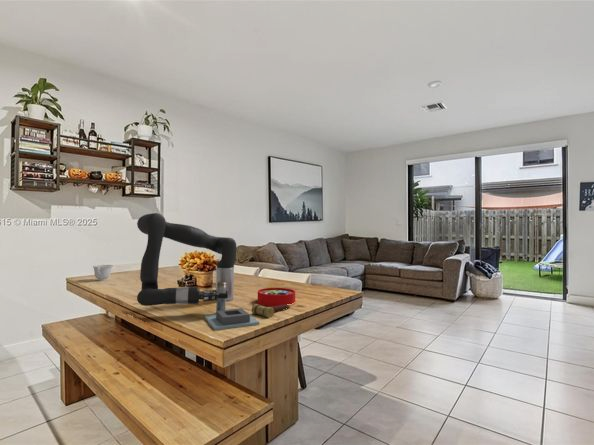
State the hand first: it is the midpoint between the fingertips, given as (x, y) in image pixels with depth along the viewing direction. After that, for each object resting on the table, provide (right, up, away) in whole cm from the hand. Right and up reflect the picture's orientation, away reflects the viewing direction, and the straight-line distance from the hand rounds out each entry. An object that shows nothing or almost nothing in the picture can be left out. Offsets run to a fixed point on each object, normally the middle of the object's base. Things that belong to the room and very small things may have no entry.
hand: (227, 294), depth 146 cm
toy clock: (+21, -10, +24) cm, 33 cm away
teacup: (-104, -8, +77) cm, 130 cm away
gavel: (+21, -10, +4) cm, 24 cm away
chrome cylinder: (-3, -8, -1) cm, 9 cm away
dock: (+4, -8, -12) cm, 15 cm away
